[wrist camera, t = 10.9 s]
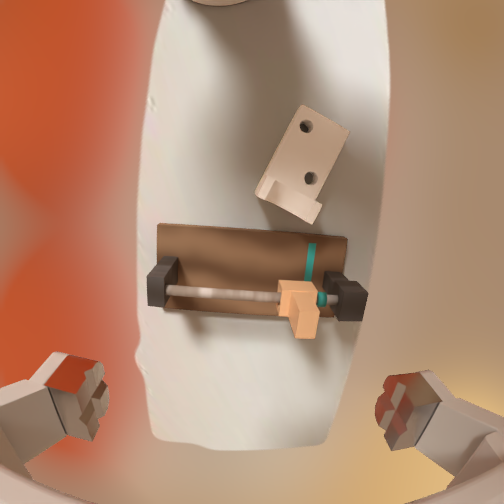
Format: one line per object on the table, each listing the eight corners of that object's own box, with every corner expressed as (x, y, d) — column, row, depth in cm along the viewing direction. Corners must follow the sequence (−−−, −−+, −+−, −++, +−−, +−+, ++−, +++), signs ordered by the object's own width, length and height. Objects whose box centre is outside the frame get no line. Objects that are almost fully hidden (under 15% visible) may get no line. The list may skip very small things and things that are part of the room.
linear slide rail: (159, 223, 41) (134, 240, 31) (344, 236, 43) (375, 257, 32) (160, 302, 45) (139, 340, 34) (331, 313, 46) (354, 350, 35)
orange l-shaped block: (278, 279, 36) (289, 309, 28) (311, 281, 37) (329, 311, 29) (275, 304, 37) (285, 338, 29) (307, 305, 37) (324, 339, 30)
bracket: (299, 215, 42) (312, 224, 35) (254, 191, 41) (256, 196, 34) (341, 134, 40) (361, 128, 32) (297, 109, 39) (309, 97, 31)
